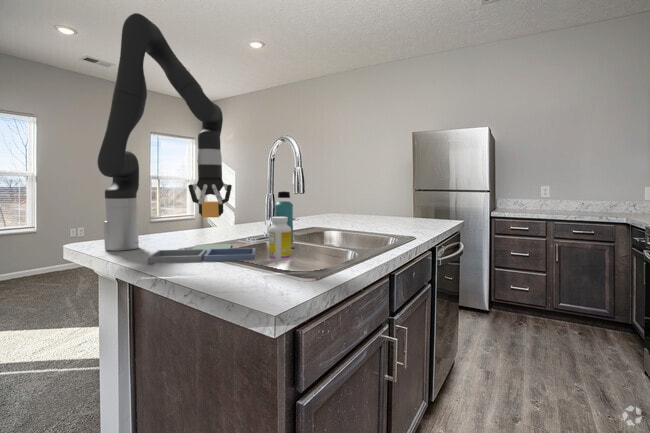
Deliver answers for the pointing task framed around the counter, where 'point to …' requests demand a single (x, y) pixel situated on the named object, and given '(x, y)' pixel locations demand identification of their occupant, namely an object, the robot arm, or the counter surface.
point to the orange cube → (210, 209)
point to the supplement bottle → (279, 239)
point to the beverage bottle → (285, 210)
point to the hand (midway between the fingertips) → (211, 215)
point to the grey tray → (177, 256)
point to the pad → (213, 246)
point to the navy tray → (230, 254)
